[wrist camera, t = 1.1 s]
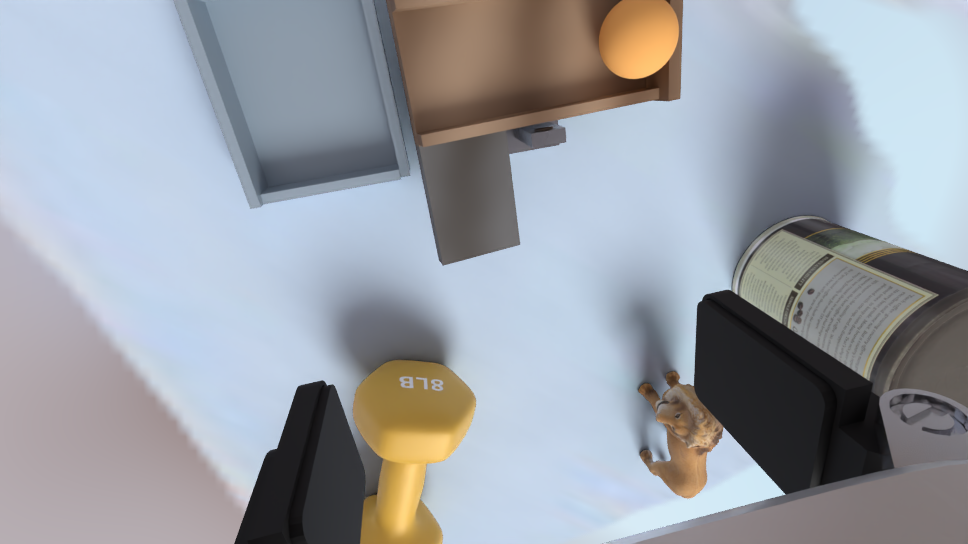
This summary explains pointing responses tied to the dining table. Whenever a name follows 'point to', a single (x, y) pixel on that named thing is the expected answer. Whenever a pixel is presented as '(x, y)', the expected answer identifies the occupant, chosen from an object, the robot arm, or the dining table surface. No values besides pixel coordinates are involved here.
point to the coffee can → (863, 303)
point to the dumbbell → (408, 443)
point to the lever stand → (535, 136)
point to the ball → (638, 37)
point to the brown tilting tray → (501, 98)
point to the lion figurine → (682, 436)
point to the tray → (298, 93)
